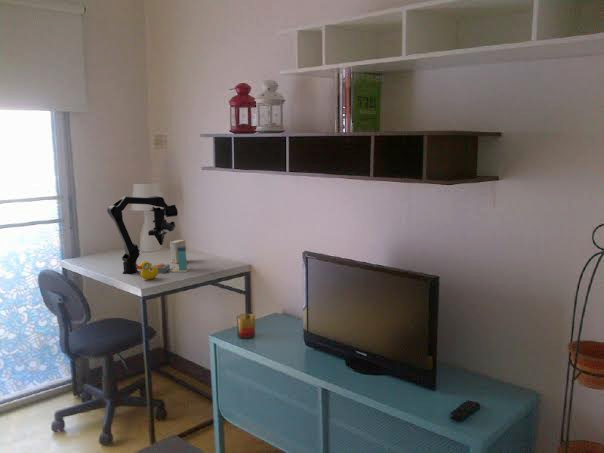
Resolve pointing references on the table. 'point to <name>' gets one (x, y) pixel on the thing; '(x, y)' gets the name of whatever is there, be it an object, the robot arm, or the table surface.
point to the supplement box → (175, 250)
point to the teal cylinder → (182, 258)
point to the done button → (160, 265)
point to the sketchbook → (176, 269)
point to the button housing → (162, 268)
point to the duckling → (147, 270)
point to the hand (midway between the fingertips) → (161, 244)
